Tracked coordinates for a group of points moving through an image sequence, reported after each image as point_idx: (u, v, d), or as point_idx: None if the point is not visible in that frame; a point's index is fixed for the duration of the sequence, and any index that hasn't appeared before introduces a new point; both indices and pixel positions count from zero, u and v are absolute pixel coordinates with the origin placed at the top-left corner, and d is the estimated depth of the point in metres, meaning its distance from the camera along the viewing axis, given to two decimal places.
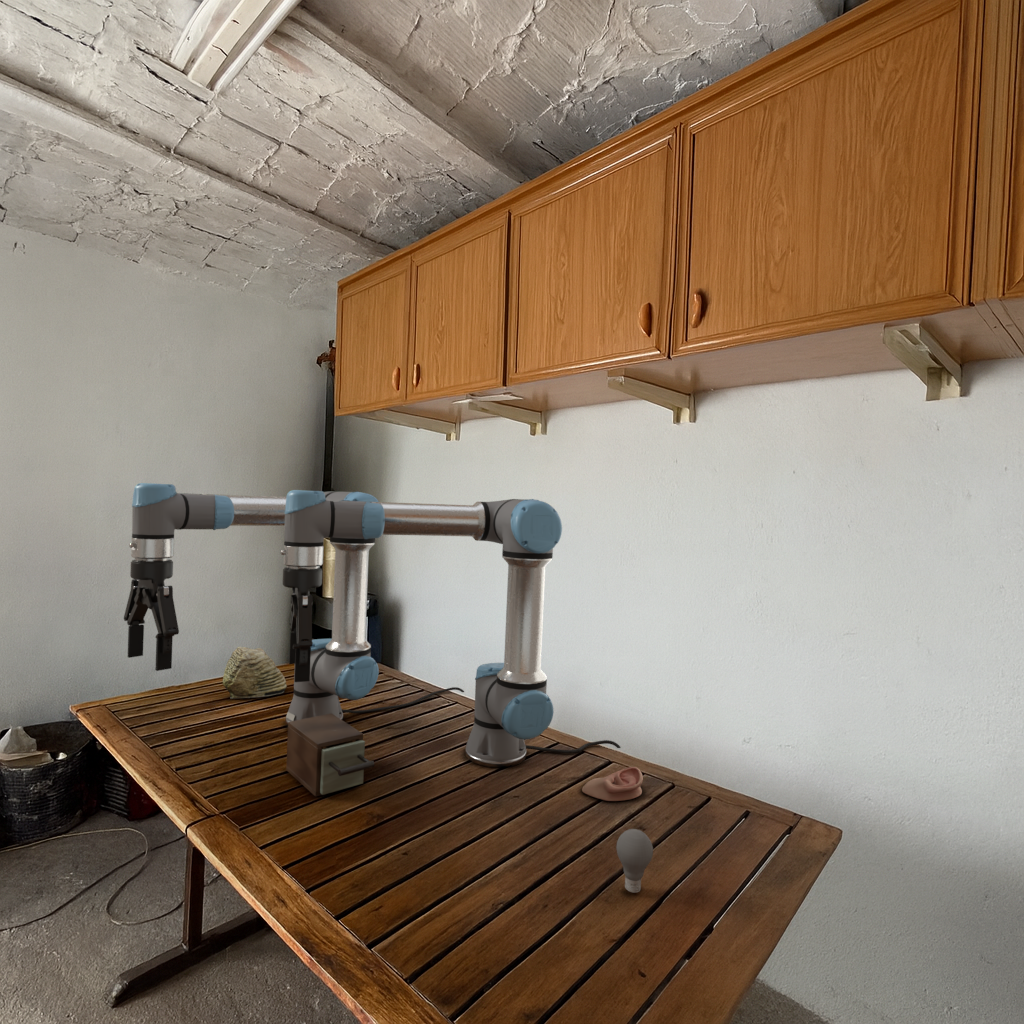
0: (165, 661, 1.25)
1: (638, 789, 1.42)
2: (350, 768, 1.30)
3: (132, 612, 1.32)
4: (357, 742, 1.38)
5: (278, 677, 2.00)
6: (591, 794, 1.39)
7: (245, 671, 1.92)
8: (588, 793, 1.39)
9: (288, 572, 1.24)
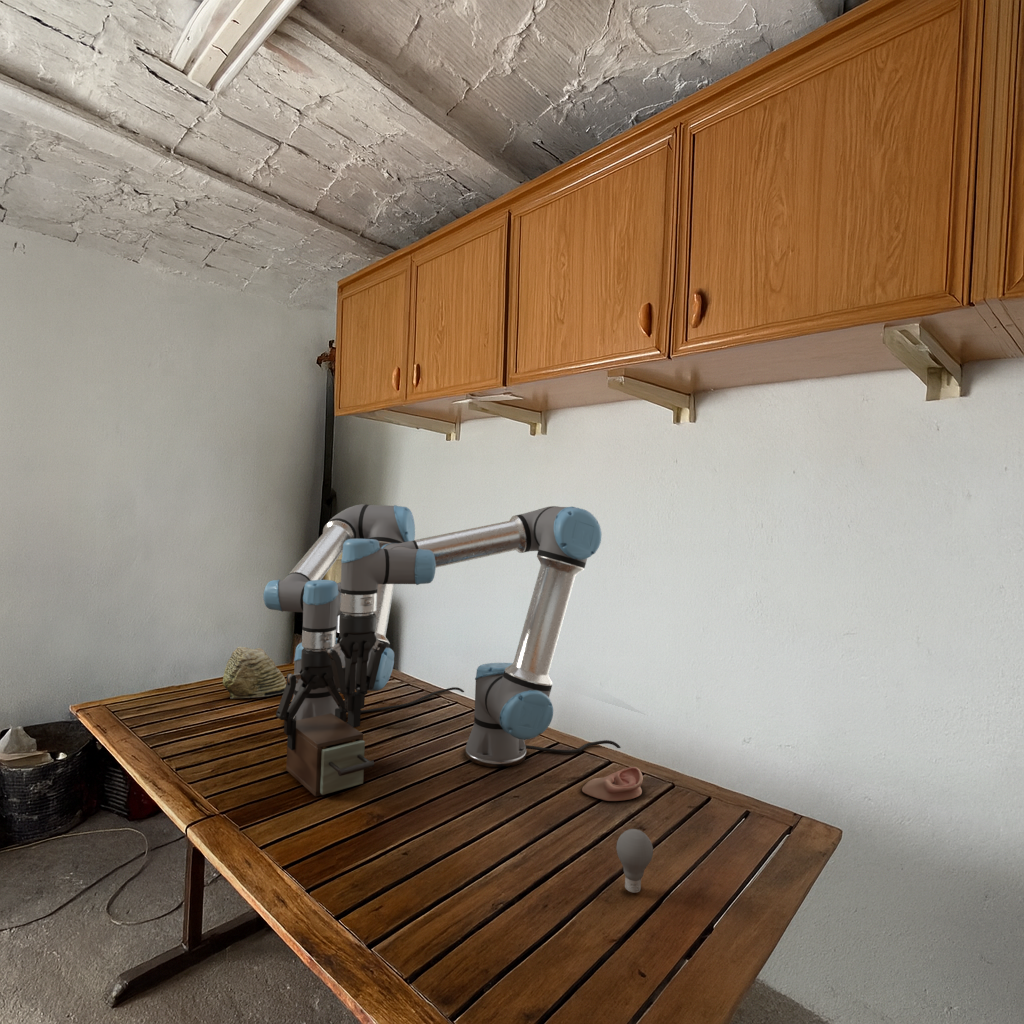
0: None
1: (638, 789, 1.42)
2: (350, 768, 1.30)
3: (297, 705, 1.42)
4: (357, 742, 1.38)
5: (278, 677, 2.00)
6: (591, 794, 1.39)
7: (245, 671, 1.92)
8: (588, 793, 1.39)
9: (375, 618, 1.32)
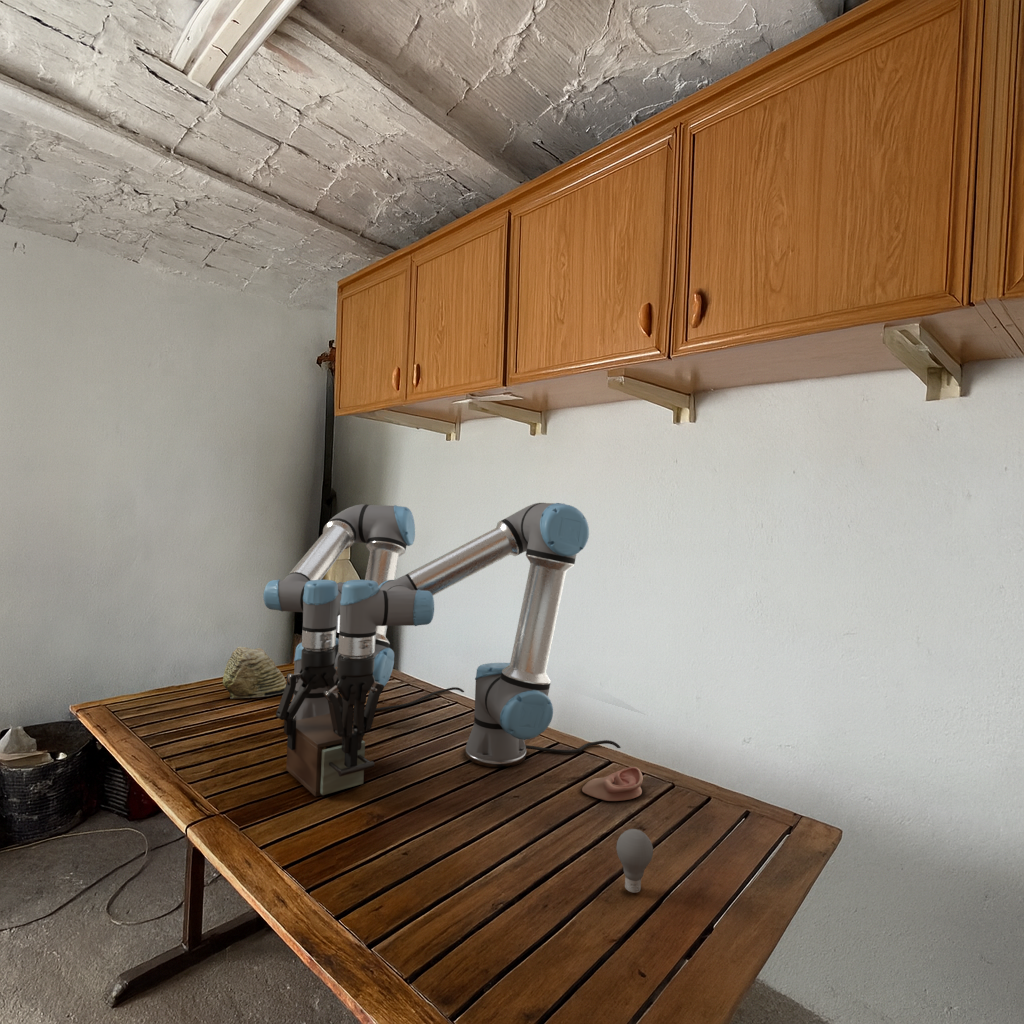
0: None
1: (638, 789, 1.42)
2: (350, 768, 1.30)
3: (297, 705, 1.42)
4: None
5: (278, 677, 2.00)
6: (591, 794, 1.39)
7: (245, 671, 1.92)
8: (588, 793, 1.39)
9: (373, 660, 1.32)
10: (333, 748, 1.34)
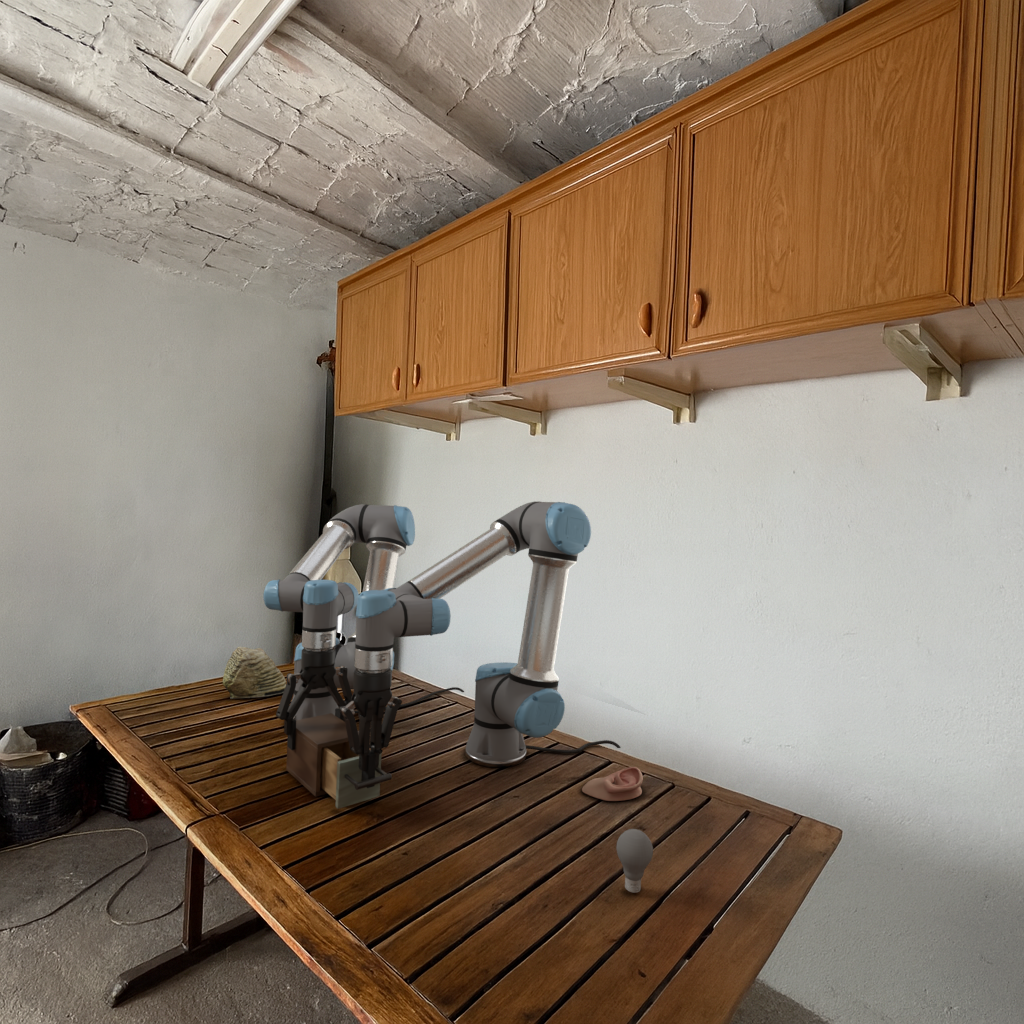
0: None
1: (638, 789, 1.42)
2: (367, 781, 1.25)
3: (297, 705, 1.42)
4: None
5: (278, 677, 2.00)
6: (591, 794, 1.39)
7: (245, 671, 1.92)
8: (588, 793, 1.39)
9: (390, 674, 1.26)
10: (349, 760, 1.29)
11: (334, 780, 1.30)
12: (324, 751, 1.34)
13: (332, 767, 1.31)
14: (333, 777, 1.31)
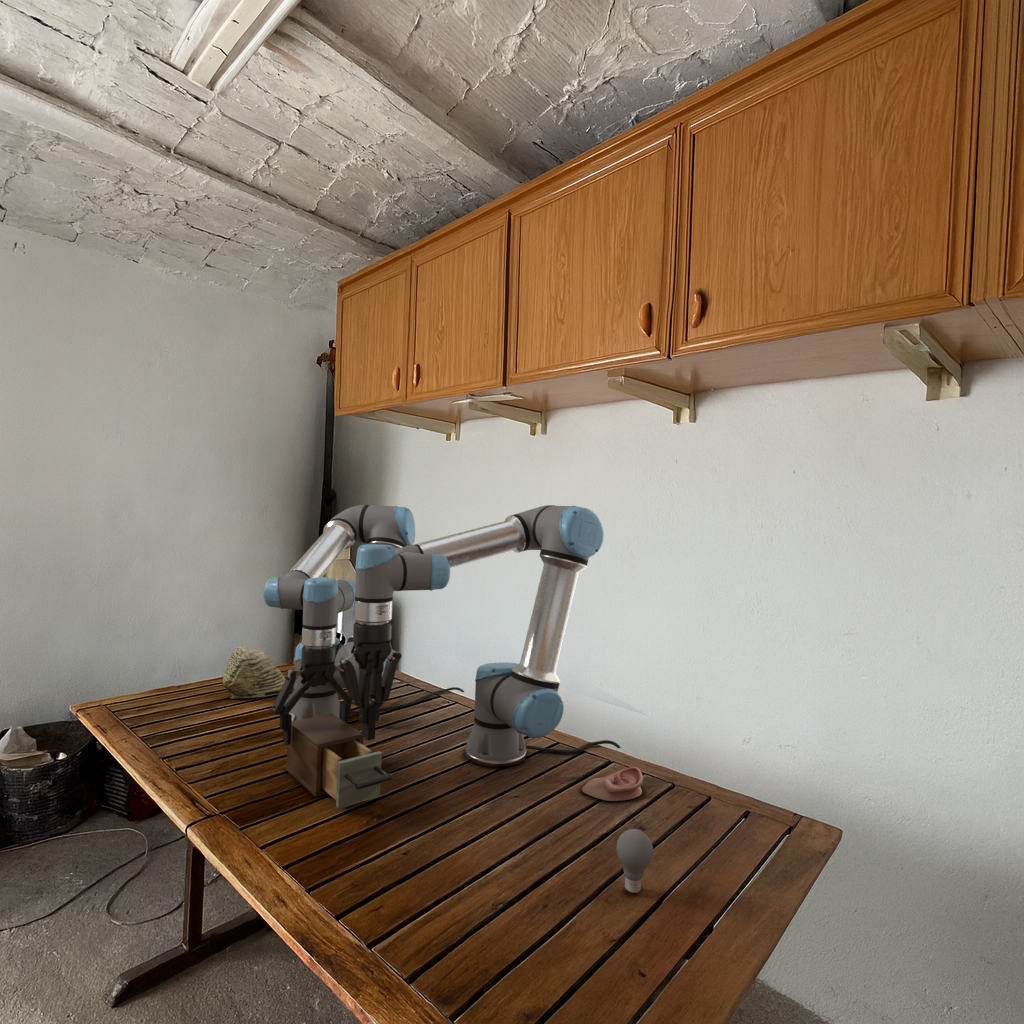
0: None
1: (638, 789, 1.42)
2: (367, 781, 1.24)
3: (294, 701, 1.42)
4: (374, 753, 1.32)
5: (278, 677, 2.00)
6: (591, 794, 1.39)
7: (245, 671, 1.92)
8: (588, 793, 1.39)
9: (390, 626, 1.27)
10: (349, 760, 1.29)
11: (334, 780, 1.30)
12: (324, 751, 1.34)
13: (332, 767, 1.31)
14: (334, 777, 1.30)
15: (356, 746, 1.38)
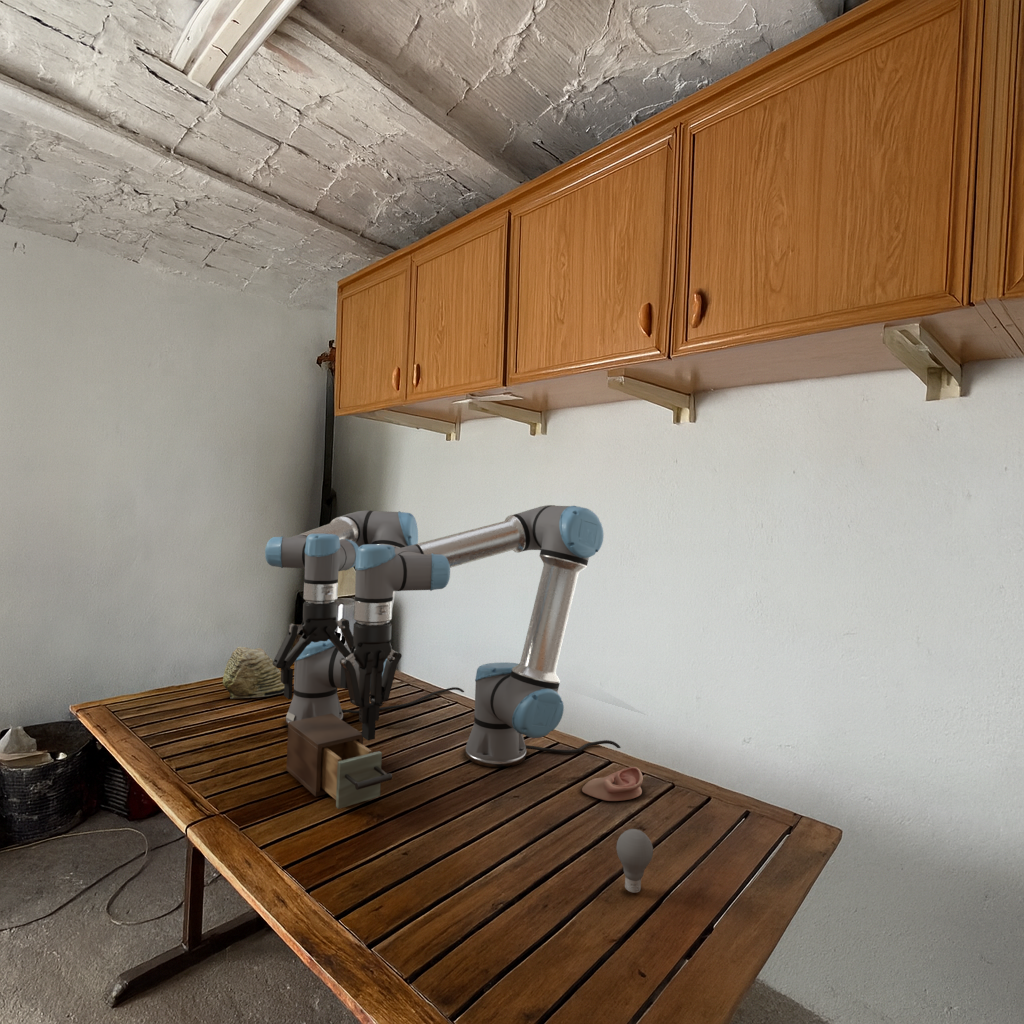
0: None
1: (638, 789, 1.42)
2: (367, 781, 1.24)
3: (296, 655, 1.42)
4: (374, 753, 1.32)
5: (278, 677, 2.00)
6: (591, 794, 1.39)
7: (245, 671, 1.92)
8: (588, 793, 1.39)
9: (390, 626, 1.27)
10: (349, 760, 1.29)
11: (334, 780, 1.30)
12: (324, 751, 1.34)
13: (332, 767, 1.31)
14: (334, 777, 1.30)
15: (356, 746, 1.38)
